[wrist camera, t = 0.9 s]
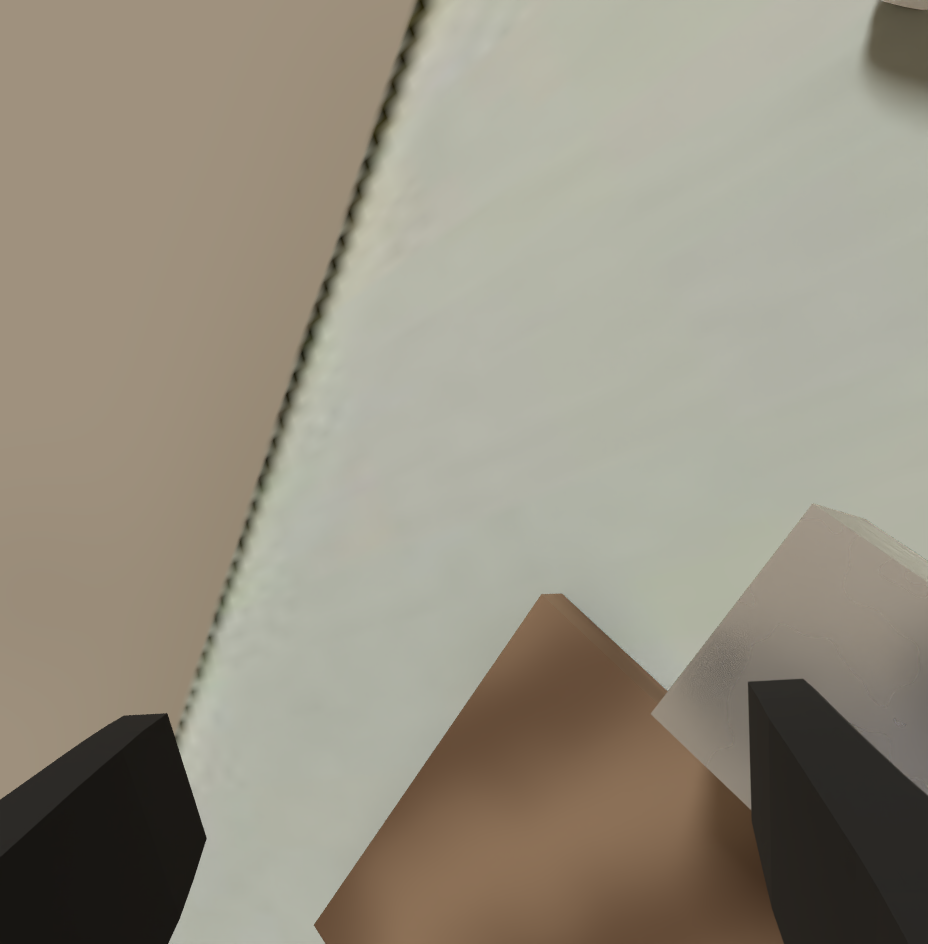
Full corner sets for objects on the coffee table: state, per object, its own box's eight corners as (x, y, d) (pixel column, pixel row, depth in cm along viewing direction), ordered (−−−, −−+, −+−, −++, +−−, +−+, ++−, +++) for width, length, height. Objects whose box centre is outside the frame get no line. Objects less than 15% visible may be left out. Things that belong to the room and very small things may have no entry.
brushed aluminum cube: (1096, 673, 17) (1109, 706, 13) (925, 854, 19) (886, 938, 14) (865, 519, 20) (812, 503, 16) (731, 686, 21) (650, 714, 17)
